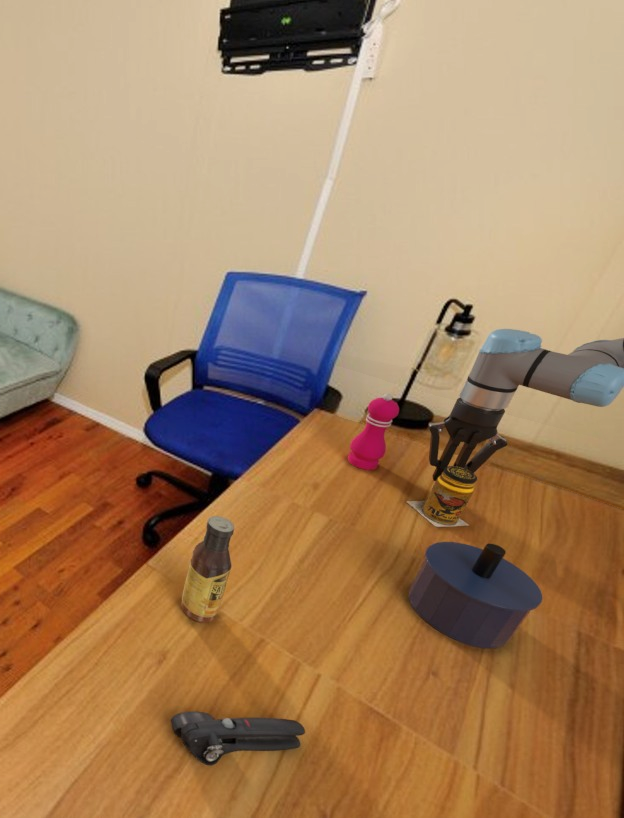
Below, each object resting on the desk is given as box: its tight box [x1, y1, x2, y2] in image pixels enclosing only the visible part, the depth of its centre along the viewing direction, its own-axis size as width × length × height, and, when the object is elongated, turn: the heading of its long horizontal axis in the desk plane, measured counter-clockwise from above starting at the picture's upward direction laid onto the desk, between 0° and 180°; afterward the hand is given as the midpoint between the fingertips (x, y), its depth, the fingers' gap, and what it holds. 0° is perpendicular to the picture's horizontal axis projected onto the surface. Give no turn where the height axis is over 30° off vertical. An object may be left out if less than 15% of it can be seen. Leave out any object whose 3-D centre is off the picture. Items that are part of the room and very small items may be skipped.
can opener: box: [170, 711, 306, 766], centre depth 70 cm, size 18×7×6 cm, turn 90°
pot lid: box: [424, 541, 543, 612], centre depth 83 cm, size 15×15×7 cm
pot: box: [407, 558, 532, 649], centre depth 87 cm, size 14×14×10 cm
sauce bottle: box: [180, 515, 235, 624], centre depth 86 cm, size 7×6×20 cm
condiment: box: [405, 465, 478, 528], centre depth 109 cm, size 7×8×12 cm
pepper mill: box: [347, 393, 400, 471], centre depth 125 cm, size 7×7×20 cm
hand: (436, 493), depth 115 cm, fingers closed
